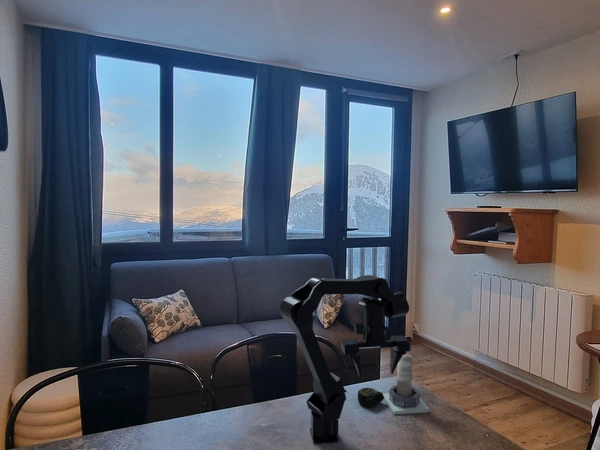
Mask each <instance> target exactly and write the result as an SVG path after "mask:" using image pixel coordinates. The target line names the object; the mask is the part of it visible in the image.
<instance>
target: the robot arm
mask: <svg viewBox="0 0 600 450" xmlns="http://www.w3.org/2000/svg"><path fill="white" fill-rule="evenodd" d="M325 295H361V296H363V297H362V298H361V300H359V302H358V303H357V306H358V307H362V308H364V322H363V326H362V323H354V324H353V330H354V335H355V336H357V335H359V336H360V338H362V340H363V341H359V342H357V340H356V338H344V339H343V338H342V340H341V342H340V350H341V351H342V353H343V354H344V356H347V357H348V358H349V359H352V360H353V362H354V364H355V365H354V366H355V369H356V370H357V374H358V376H359V377H362V364H361V361H362V360H361V355H360V354H359V353H360V350H373V349H387V348H389V350H390V362H389V372H390V374H391V375H393V374H394V372H395V370H396V369H397V364H398V362H399V361H400V359H401V358H402V356H403V355H405V354H407V352H412V351H411V350H412V349H411V348H412V345H411V342H410V341H409V340H408V339H407V338H406V337H405V335H391V337H390V339H389V340H387V337H386V331H387V330H388V329H387V325H386V318H387V319H392V318H396V317H397V318H398V317H401V316H406V315H407V314H409V311H410V305H409V302H408V300H407V298H406V297H405V293H404V292H401V291H395V292H393V291H392V290H391V288H390V286H389V283H388V281H387V279H386V278H383V277H379V276H376V275H372V274H367V275H360V276H358V277H356V278H319V277H312V278H310V279H309V280H307V282H306V283H305V284H303V285H302V286H301V287H298V288H297V289H296V290H294V291H293V292H292V293H291V294H290V295H289V296H287V297H285V298H284V299H283V300H282V302H281V303H280V306H279V308H278V309H279V314H280V315H281V317H282V318H283V320H284V322H285V324H287V325H288V327H289V328H290V329H291V330H292V332H293V333H294V334H295V336H296V338H297V340H298V343H299V346H300V348H301V350H302V353H303V356H304V357H305V361H306V362H307V365H308V367H309V369H310V372H311V375H312V377H313V383H312V388H313V392H312V394H310V396H309V398H308V399H307V401H306V405H307V408H308V409H309V410H310V428H309V433H310V435H311V436H310V437H311V440H312V443H313V444H326V443H337V442H338V441H339V439H338V436H339V419H340V418H341V414H342V412H343V409H344V405H345V401H347V395H346V393H347V392H348V391H347V390H346V389H345V386H344V383H343V380H342V378H341V377H339V376H337V375H335V373H333V372H331V371H330V369H329V366H328V363H327V361H326V359H325V356H324V354H323V351H322V349H321V346H320V344H319V342H318V340H317V337H316V334H315V332H314V329H313V327H314V316H313V313H314V312H315V311H316V310H317V309H318V308H319V306H320V304H321V301H322V298H323V297H325ZM364 296H365V297H364ZM367 297H369V298H367Z"/></svg>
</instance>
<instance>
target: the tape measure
mask: <svg viewBox="0 0 600 450" xmlns="http://www.w3.org/2000/svg"><path fill="white" fill-rule="evenodd" d="M383 394H384V393H383V392H381V391H377V389H375V388H372V387H362V388H360V389H359V390H358V391H357V402H358V404H359V403H360V405H363V406H365V407H368V408H372V407H374V406H376V405H378V404H379V403H381V402H383V401H384V400H383V399H384V396H383Z"/></svg>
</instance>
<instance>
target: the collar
mask: <svg viewBox="0 0 600 450" xmlns="http://www.w3.org/2000/svg"><path fill="white" fill-rule="evenodd" d="M388 393H389V400H390V401H391V402H392V404H394V405H396V406H399V407H402V408H415V407H417V406H418V405H419V404H420V399H421V392H419V390H418V389H417V388H416V387H413V386H412V396H407V397H404V396H401V395H397V385H393V386H392V387H390V388H389V392H388Z"/></svg>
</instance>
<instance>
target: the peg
mask: <svg viewBox="0 0 600 450" xmlns="http://www.w3.org/2000/svg"><path fill="white" fill-rule="evenodd" d="M413 358H414V357H413V355H411V354H408V353H406V354H405V355H403V356H402V358H401V359H400V361H399V362H398V364H397V366H396V369H397V370H396V386H397V395H401V396H404V397H407V396H412V387H413V363H414V361H413V360H414V359H413Z"/></svg>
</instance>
